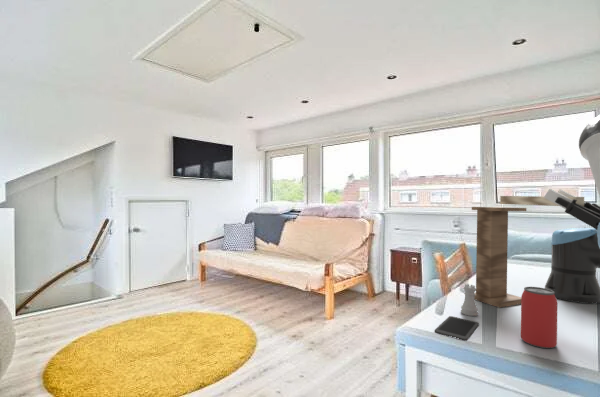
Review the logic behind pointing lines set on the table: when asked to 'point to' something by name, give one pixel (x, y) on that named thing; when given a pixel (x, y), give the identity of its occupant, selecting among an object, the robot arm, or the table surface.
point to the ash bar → (534, 200)
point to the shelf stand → (493, 256)
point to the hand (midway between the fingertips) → (552, 193)
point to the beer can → (539, 317)
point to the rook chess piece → (469, 301)
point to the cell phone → (457, 327)
